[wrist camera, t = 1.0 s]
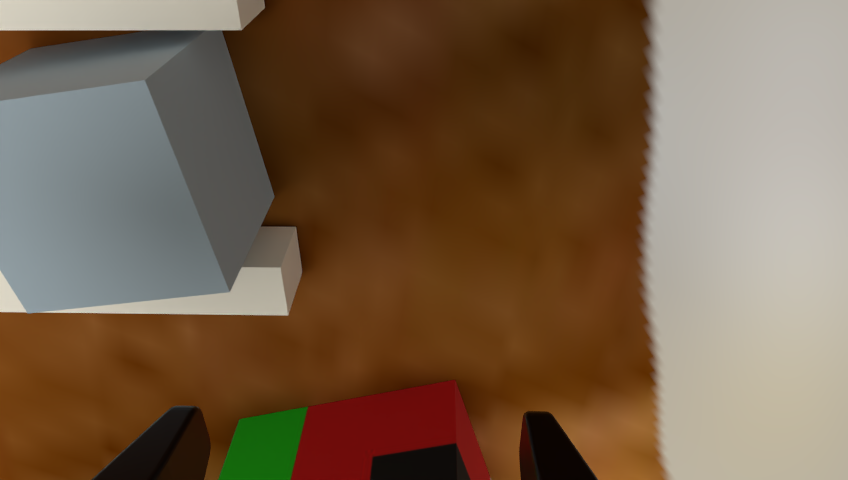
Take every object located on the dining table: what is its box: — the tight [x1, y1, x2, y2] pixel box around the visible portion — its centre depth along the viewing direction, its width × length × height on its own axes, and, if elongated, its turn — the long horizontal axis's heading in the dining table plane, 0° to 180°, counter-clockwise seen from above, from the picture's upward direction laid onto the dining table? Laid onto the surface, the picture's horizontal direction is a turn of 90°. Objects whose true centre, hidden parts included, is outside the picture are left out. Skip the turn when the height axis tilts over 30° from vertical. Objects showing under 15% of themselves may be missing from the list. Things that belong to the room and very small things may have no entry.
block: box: [0, 30, 275, 313], centre depth 18 cm, size 6×6×6 cm
